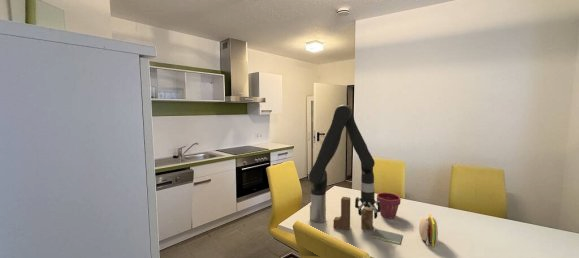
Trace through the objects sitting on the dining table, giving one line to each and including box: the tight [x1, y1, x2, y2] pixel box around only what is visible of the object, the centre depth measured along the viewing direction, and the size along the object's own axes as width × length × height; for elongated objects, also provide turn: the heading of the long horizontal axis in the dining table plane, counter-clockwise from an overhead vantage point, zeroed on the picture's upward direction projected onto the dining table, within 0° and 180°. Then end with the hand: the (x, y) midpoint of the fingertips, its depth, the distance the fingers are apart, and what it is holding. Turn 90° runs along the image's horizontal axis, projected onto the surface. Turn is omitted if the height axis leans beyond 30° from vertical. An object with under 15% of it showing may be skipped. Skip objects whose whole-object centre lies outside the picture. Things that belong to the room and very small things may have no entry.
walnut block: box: [360, 206, 374, 232], centre depth 141 cm, size 5×7×11 cm
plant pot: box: [376, 192, 401, 219], centre depth 157 cm, size 14×14×13 cm
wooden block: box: [333, 196, 351, 231], centre depth 142 cm, size 9×4×18 cm, turn 64°
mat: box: [371, 228, 403, 245], centre depth 131 cm, size 14×10×1 cm
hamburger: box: [418, 213, 439, 247], centre depth 127 cm, size 12×8×12 cm
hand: (367, 216), depth 141 cm, fingers open, 8 cm apart
